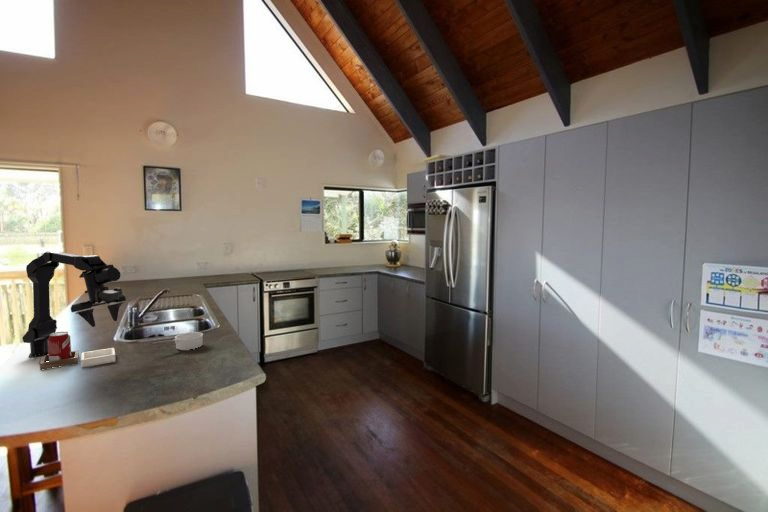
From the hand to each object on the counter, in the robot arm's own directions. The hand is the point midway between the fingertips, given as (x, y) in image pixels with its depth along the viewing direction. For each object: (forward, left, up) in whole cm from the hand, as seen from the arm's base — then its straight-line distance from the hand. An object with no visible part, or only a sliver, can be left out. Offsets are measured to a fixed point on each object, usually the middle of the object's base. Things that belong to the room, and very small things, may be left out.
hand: (105, 323), depth 148 cm
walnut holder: (-8, -15, -15) cm, 23 cm away
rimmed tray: (-2, -3, -15) cm, 16 cm away
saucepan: (+2, +26, -16) cm, 30 cm away
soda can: (-8, -15, -16) cm, 23 cm away
